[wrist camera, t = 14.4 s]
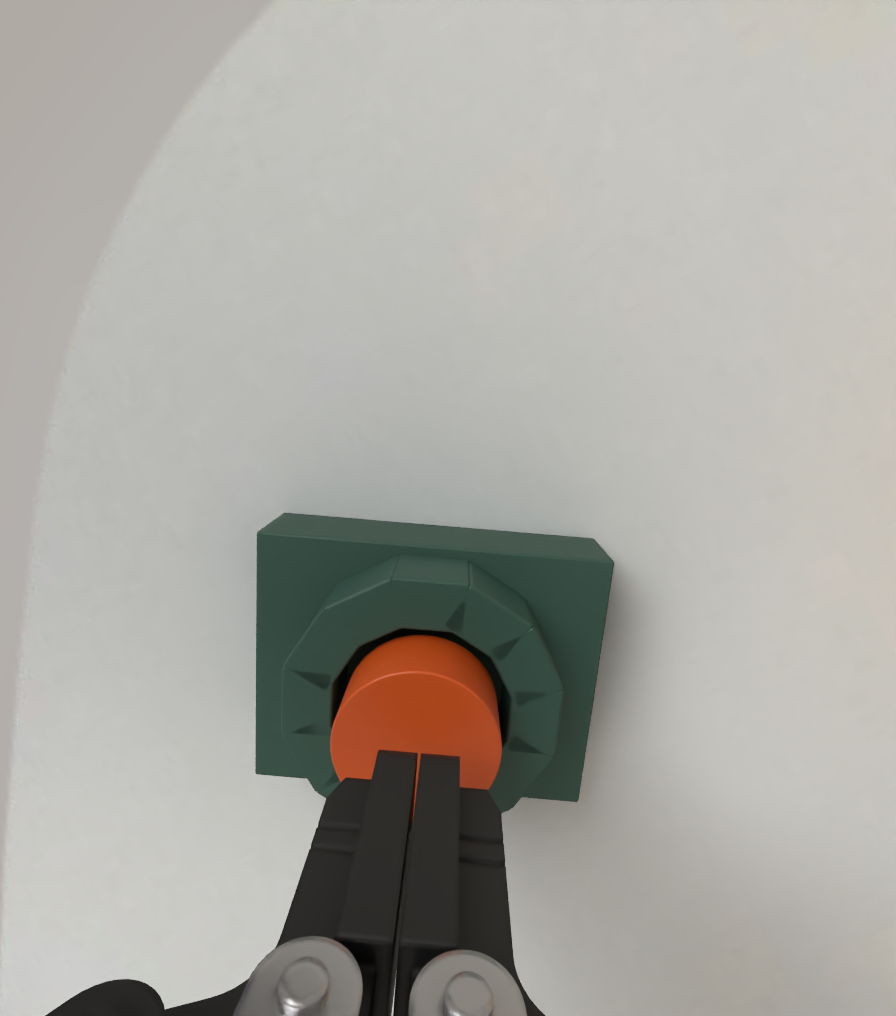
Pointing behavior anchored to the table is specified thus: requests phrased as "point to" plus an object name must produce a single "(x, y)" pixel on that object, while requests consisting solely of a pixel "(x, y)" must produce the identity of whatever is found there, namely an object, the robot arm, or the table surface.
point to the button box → (435, 612)
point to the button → (419, 710)
